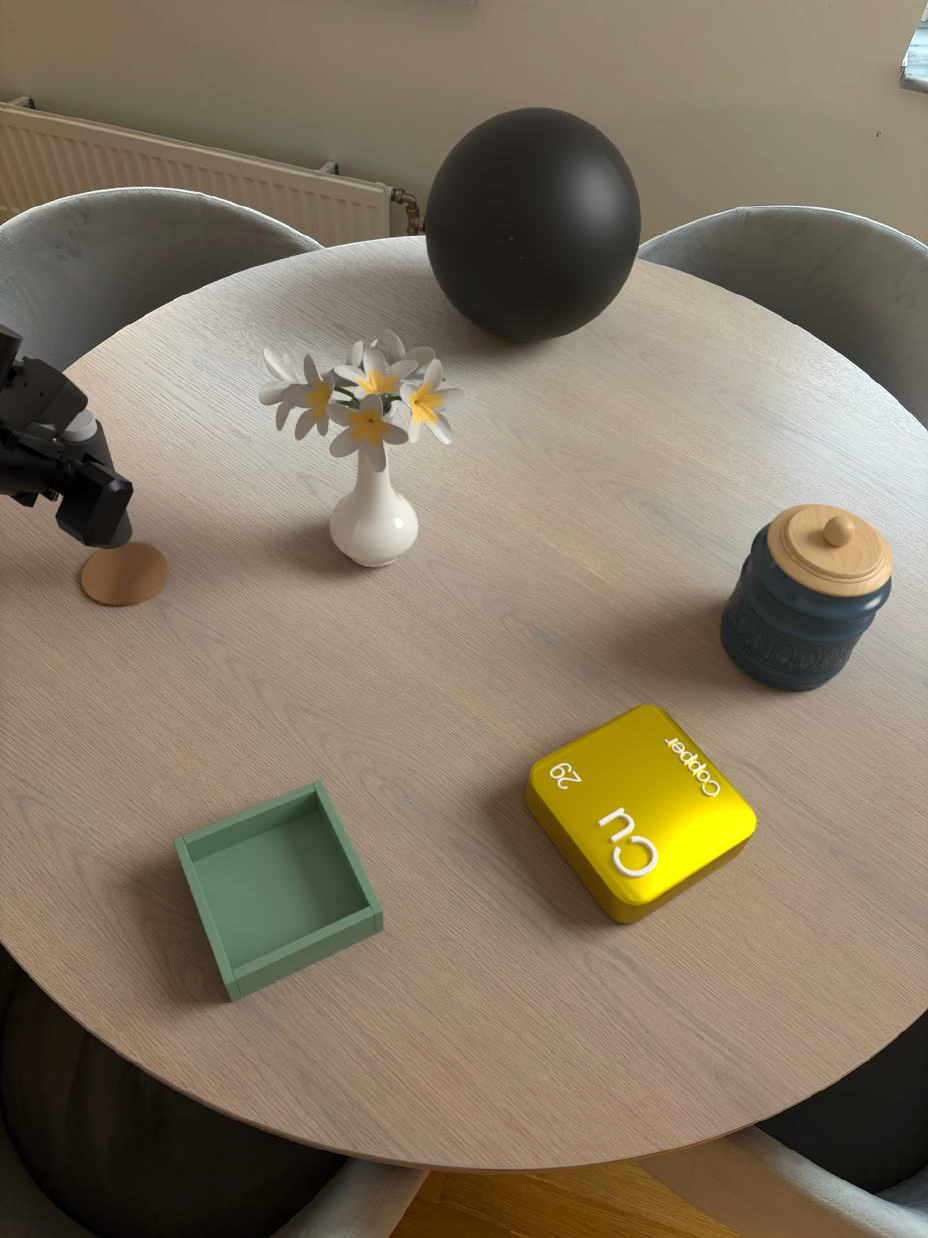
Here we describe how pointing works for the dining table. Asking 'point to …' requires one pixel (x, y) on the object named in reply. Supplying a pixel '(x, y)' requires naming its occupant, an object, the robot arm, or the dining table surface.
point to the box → (278, 888)
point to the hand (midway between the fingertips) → (108, 481)
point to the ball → (533, 224)
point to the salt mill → (91, 439)
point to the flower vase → (368, 434)
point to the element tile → (638, 811)
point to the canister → (806, 596)
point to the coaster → (124, 574)
